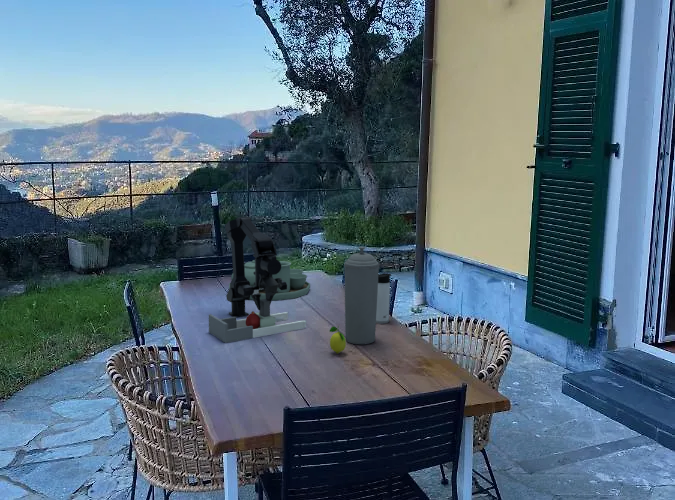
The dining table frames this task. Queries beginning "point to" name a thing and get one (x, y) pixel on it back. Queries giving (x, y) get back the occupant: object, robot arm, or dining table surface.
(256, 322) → the onion
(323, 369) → the dining table surface
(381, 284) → the travel mug
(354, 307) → the canister
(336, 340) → the lemon
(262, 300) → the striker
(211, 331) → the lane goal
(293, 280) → the tea set
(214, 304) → the dining table surface
